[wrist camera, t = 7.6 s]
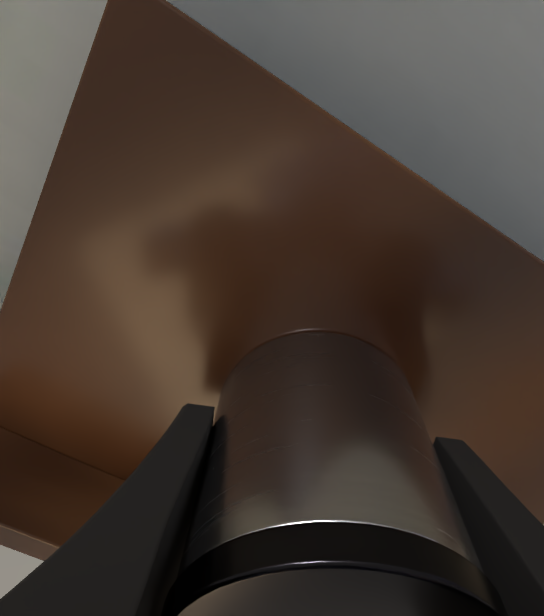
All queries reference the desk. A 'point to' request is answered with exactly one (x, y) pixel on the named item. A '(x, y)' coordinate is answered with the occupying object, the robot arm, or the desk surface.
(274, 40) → the desk surface
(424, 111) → the desk surface
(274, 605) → the spice tin
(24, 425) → the wooden display base
